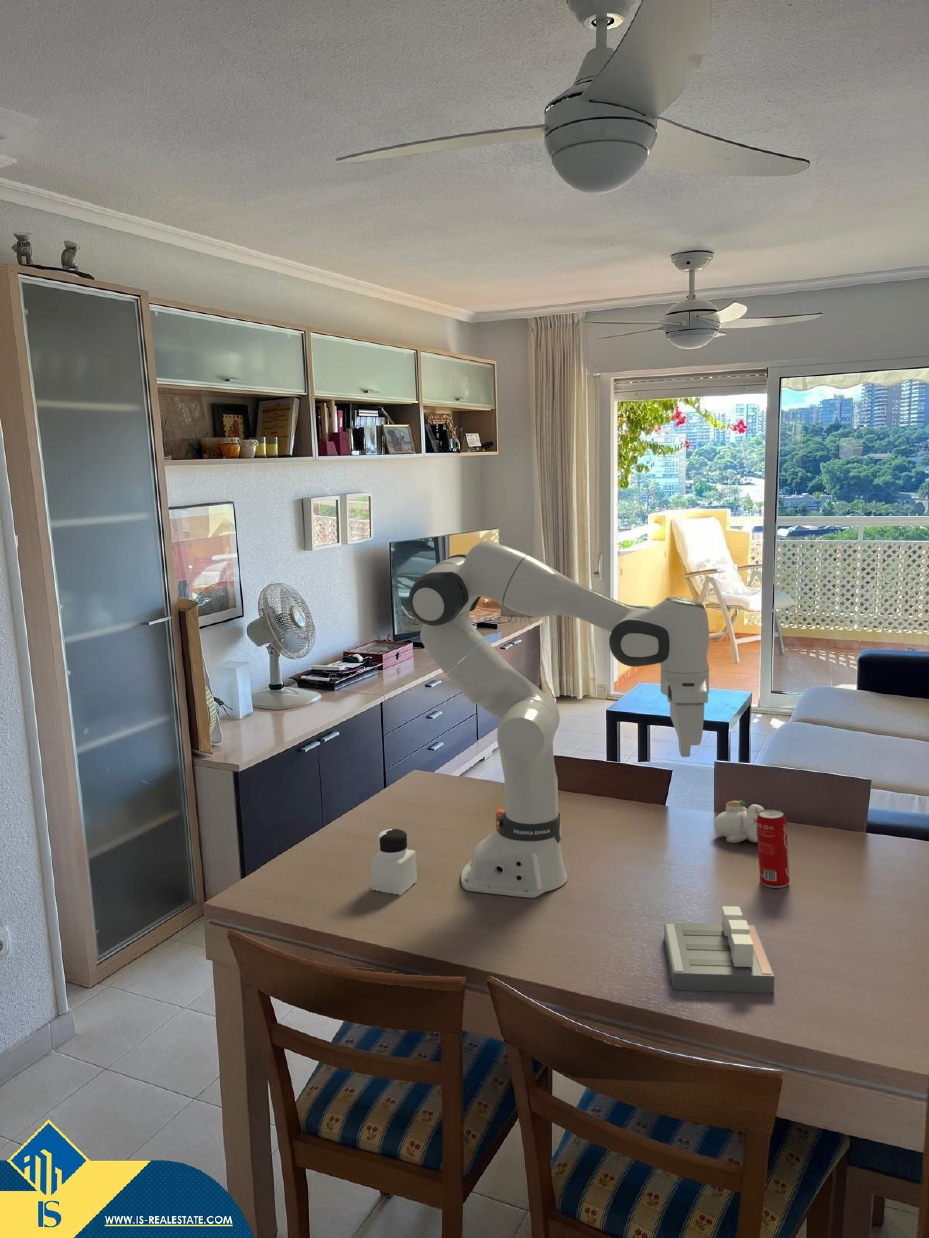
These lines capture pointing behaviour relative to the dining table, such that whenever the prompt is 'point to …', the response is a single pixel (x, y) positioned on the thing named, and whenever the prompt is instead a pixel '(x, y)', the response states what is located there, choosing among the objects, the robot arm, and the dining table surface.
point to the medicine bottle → (393, 863)
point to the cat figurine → (738, 822)
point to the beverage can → (773, 848)
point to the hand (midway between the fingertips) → (684, 754)
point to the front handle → (742, 950)
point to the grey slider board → (713, 960)
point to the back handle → (730, 916)
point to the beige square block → (737, 928)
